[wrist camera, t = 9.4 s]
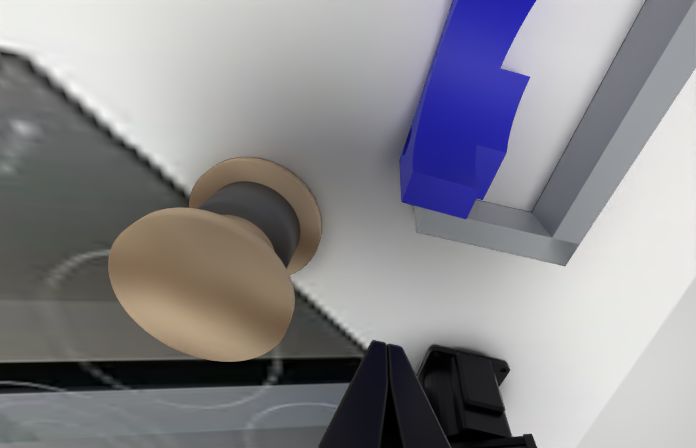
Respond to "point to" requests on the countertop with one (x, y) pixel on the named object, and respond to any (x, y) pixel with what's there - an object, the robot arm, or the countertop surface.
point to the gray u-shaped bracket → (591, 145)
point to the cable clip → (464, 109)
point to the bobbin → (220, 261)
